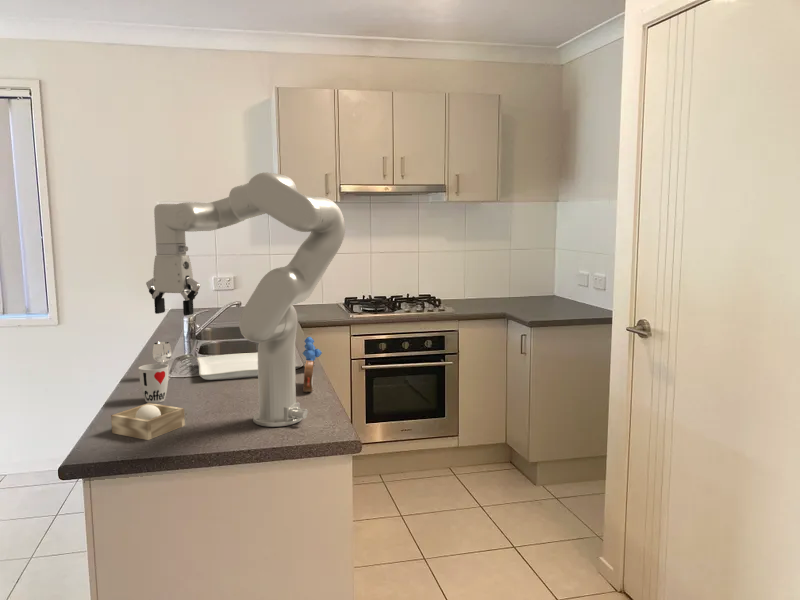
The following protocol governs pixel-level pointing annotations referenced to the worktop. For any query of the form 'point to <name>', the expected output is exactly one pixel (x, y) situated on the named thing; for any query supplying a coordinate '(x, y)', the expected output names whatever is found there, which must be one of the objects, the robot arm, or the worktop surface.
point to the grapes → (311, 350)
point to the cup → (154, 382)
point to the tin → (308, 376)
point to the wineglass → (162, 352)
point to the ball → (148, 412)
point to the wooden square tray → (148, 422)
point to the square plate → (228, 366)
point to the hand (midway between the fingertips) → (174, 313)
